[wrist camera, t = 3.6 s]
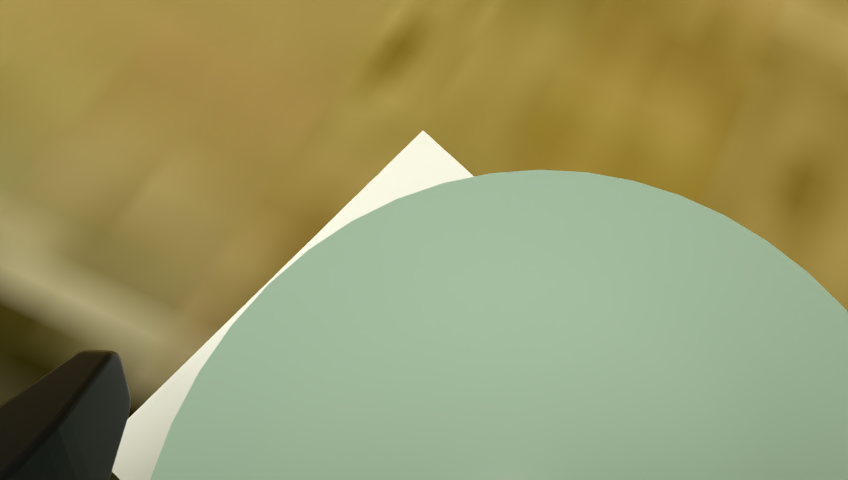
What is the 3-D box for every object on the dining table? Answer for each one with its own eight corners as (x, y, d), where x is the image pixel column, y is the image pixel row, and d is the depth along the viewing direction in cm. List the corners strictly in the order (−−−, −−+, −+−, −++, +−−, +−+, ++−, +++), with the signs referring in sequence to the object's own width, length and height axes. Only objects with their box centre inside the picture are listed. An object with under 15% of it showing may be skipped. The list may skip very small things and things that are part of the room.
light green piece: (573, 421, 15) (1120, 543, 4) (430, 594, 14) (638, 1423, 3) (419, 277, 15) (527, 30, 4) (270, 434, 14) (-74, 619, 3)
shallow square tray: (676, 414, 15) (746, 423, 12) (433, 726, 13) (448, 823, 11) (414, 174, 16) (422, 130, 13) (151, 436, 14) (94, 452, 11)
